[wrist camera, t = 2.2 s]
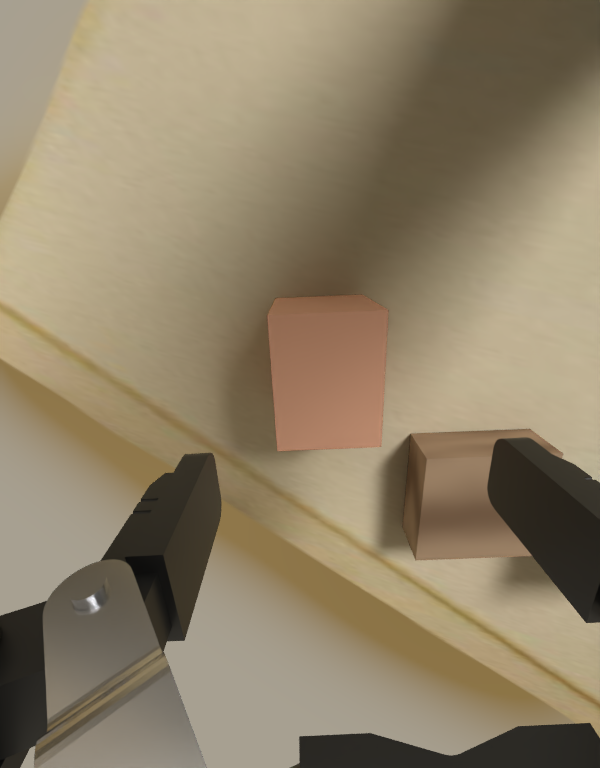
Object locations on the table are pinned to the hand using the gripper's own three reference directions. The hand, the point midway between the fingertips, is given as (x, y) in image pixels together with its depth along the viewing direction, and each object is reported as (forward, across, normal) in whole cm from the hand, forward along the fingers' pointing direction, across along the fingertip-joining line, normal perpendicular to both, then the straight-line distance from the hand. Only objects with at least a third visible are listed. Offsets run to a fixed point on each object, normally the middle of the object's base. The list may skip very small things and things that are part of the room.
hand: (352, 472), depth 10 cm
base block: (+12, -10, +10) cm, 18 cm away
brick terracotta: (+12, 0, -1) cm, 12 cm away
